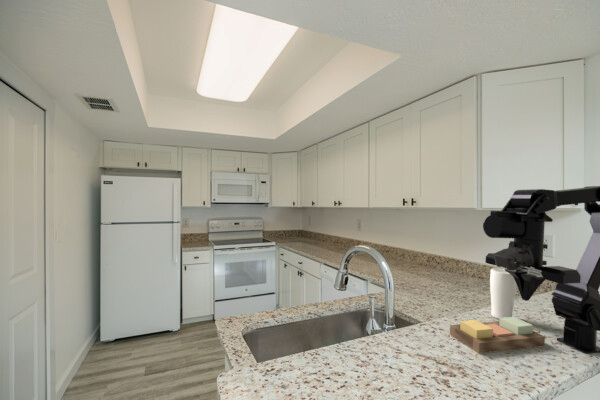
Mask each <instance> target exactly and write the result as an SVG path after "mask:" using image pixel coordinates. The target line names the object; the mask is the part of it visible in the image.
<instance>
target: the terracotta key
mask: <svg viewBox="0 0 600 400" xmlns="http://www.w3.org/2000/svg"><path fill="white" fill-rule="evenodd" d="M487 326H489V327H490V328H492V329H493V335H495V336H497V337H503V336H513V333H512V332H510V331H508V330H506V329H504V328H502V327H500V326H498V325H496V324H488V325H487Z"/></svg>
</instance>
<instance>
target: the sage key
mask: <svg viewBox="0 0 600 400" xmlns="http://www.w3.org/2000/svg"><path fill="white" fill-rule="evenodd" d="M498 321H499V326H501V327H503V328H505V329H507V330H509V331H511V332H513V333H515V334H517V335H523V334H533V331H534V325H533V324H531V323H528V322H526V321H524V320H522V319H520V318H517V317H515V316H512V317H505V318H500V319H499V320H498Z"/></svg>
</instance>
